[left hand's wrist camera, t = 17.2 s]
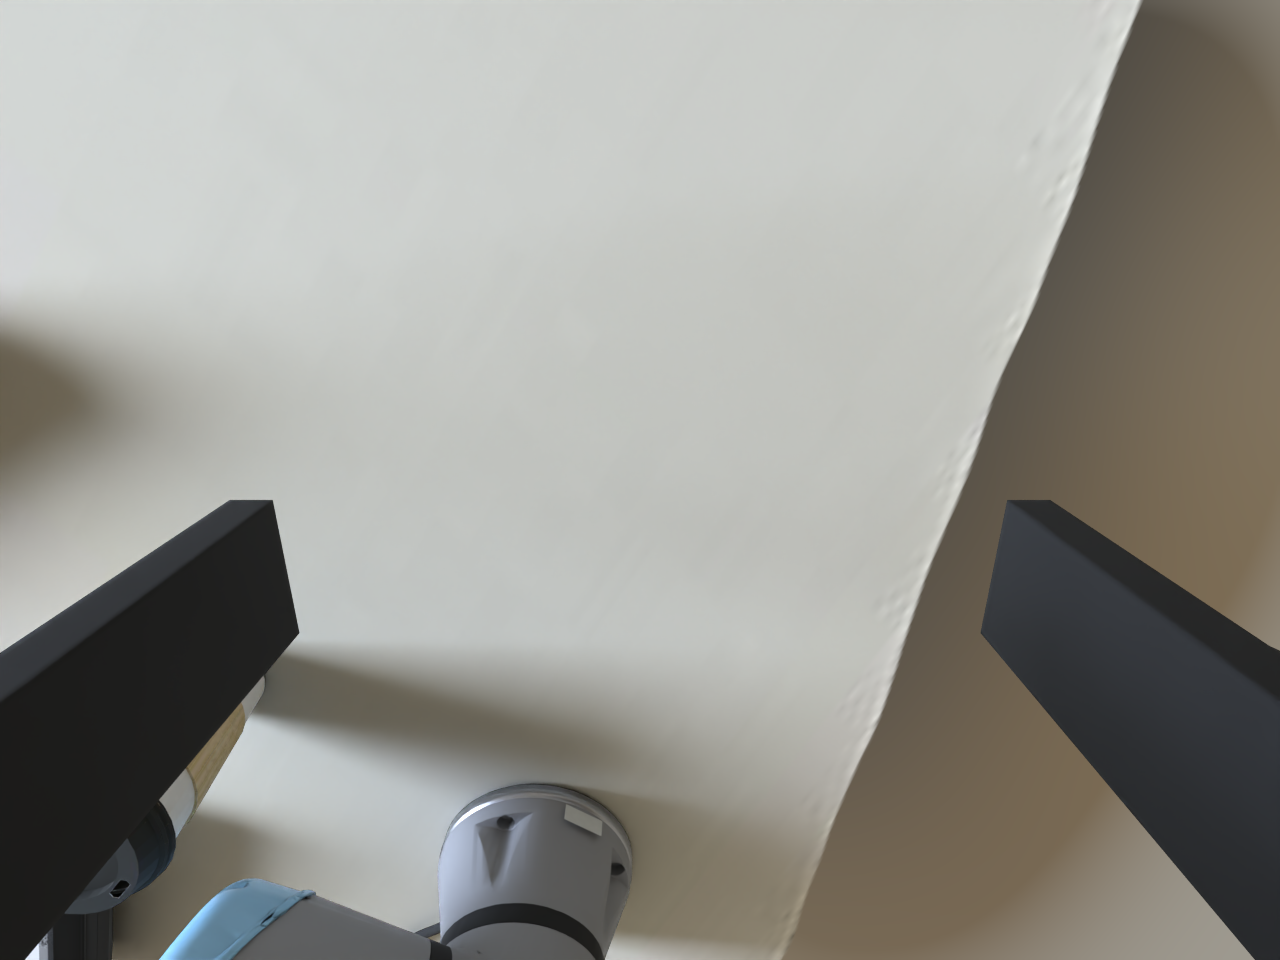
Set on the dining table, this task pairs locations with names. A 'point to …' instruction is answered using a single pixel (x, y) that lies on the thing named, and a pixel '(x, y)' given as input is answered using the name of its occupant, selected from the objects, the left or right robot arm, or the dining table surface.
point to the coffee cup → (164, 820)
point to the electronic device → (78, 938)
